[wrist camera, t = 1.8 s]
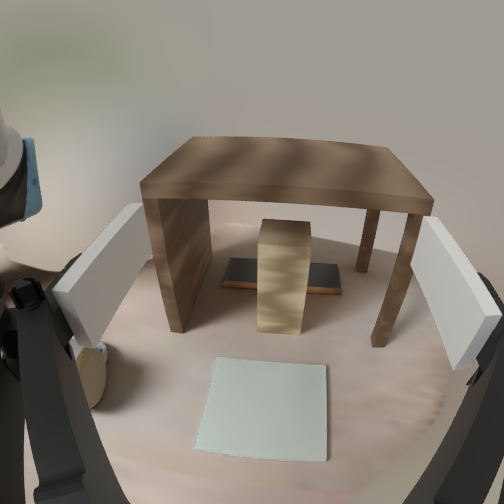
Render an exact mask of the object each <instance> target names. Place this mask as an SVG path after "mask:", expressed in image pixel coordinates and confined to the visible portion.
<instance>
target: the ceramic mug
mask: <svg viewBox="0 0 504 504" xmlns="http://www.w3.org/2000/svg"><path fill="white" fill-rule="evenodd" d="M69 342H70V344H71V346H72V348H73V352H74V356H75V360H76V364H77V368H78V372H79V376H80V379H81V383H82V386H83V389H84V393H85V396H86V399H87V402H88V406H89V409H91V408H92V407H94V406H95V405H96V404H97V403H98V402H99V401H100V399H101V397H102V395H103V392H104V389H105V385H106V377H107V370H106V361H107V359H108V355H107V348H106V346H105V344H104V343H103V342H101V341H99V342H98V344H97V346H96V348H95V349H92V348H88V347H83V346H79V344H78V343H77V341H76V339H71V340H70V341H69Z"/></svg>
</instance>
